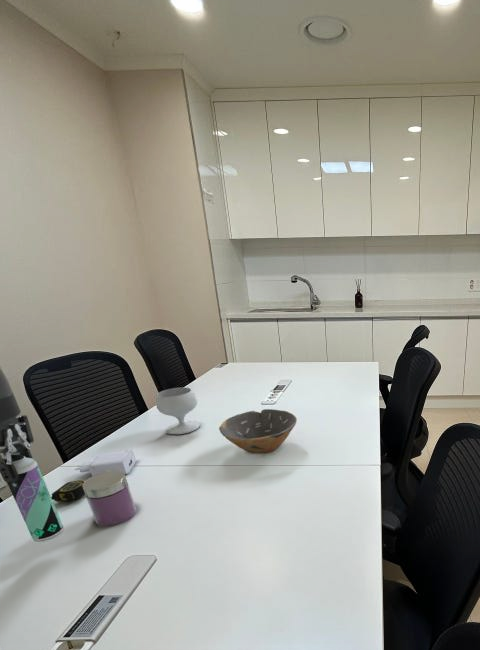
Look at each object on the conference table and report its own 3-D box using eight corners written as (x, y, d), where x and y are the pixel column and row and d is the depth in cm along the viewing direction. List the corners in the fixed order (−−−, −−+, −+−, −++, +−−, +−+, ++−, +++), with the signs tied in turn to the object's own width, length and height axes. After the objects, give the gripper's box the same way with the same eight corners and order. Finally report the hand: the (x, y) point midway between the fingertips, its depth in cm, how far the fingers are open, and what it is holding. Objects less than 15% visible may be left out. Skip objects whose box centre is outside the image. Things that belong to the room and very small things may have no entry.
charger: (84, 467, 124) (136, 461, 127) (71, 482, 115) (127, 475, 118) (79, 454, 122) (132, 448, 125) (66, 468, 113) (122, 461, 117)
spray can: (31, 534, 86) (-6, 453, 78) (61, 523, 89) (29, 445, 81) (34, 545, 82) (-4, 462, 74) (65, 533, 86) (32, 453, 78)
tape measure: (72, 490, 111) (67, 479, 110) (95, 490, 111) (90, 479, 109) (53, 504, 105) (48, 492, 103) (78, 504, 105) (73, 492, 103)
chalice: (189, 437, 143) (180, 398, 137) (155, 435, 145) (144, 397, 139) (209, 422, 156) (201, 386, 150) (178, 421, 158) (169, 386, 152)
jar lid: (79, 500, 91) (75, 492, 90) (93, 482, 99) (90, 473, 98) (120, 494, 93) (117, 486, 92) (131, 476, 101) (128, 468, 100)
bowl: (238, 474, 117) (233, 445, 113) (215, 446, 135) (209, 420, 131) (312, 451, 130) (310, 423, 126) (282, 428, 148) (279, 403, 144)
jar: (90, 529, 95) (76, 494, 90) (103, 508, 102) (91, 475, 98) (130, 522, 97) (118, 488, 92) (140, 502, 105) (130, 470, 100)
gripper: (-14, 386, 78) (18, 460, 85) (-67, 410, 65) (-24, 494, 72) (29, 382, 80) (58, 455, 87) (-14, 405, 67) (23, 488, 74)
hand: (20, 473), depth 79 cm, fingers closed on spray can, 5 cm apart
